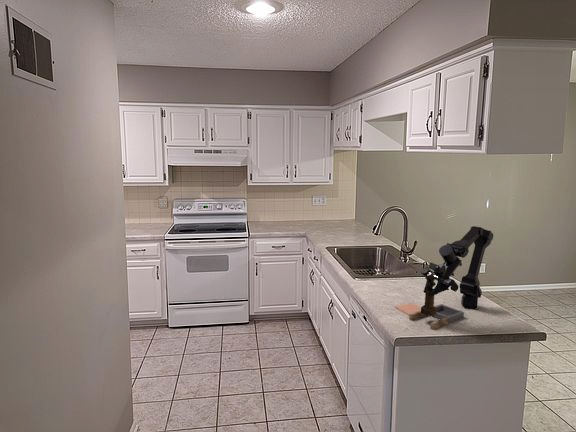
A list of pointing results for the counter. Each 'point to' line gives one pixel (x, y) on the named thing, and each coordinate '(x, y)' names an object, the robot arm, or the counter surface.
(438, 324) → the walnut channel
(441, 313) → the charcoal box
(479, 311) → the counter surface
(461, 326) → the counter surface
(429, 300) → the wooden pepper mill
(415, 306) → the terracotta tile
